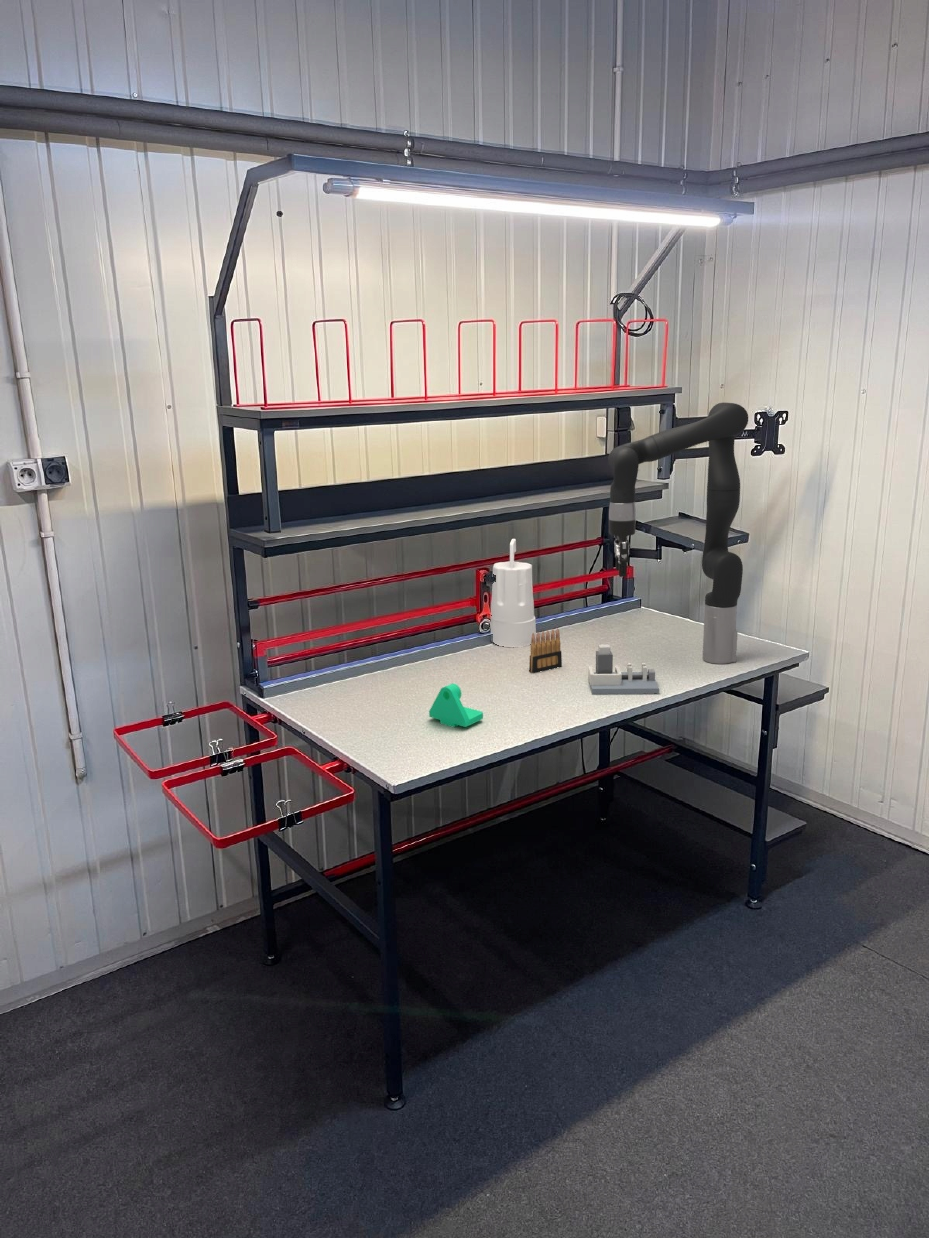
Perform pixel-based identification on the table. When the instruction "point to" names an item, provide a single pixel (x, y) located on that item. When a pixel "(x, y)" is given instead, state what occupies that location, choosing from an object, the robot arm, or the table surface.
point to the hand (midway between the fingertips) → (621, 573)
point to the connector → (604, 660)
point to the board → (623, 681)
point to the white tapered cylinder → (512, 603)
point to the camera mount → (453, 708)
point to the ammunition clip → (545, 652)
